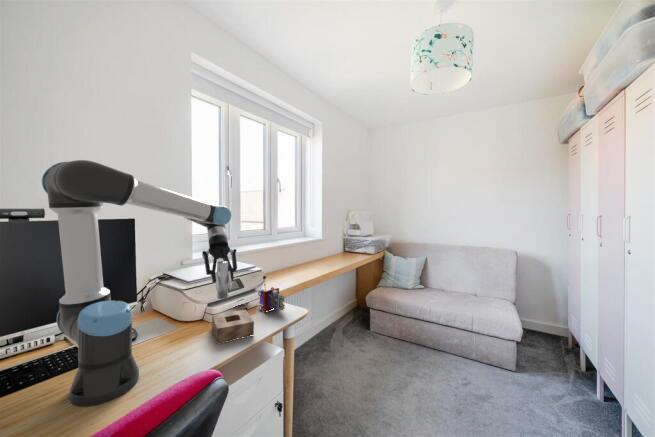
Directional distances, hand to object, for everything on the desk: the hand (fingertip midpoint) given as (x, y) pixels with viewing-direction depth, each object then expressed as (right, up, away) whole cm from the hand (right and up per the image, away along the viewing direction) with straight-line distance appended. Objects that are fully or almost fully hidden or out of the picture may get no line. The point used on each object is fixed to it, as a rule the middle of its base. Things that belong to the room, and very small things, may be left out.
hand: (224, 288), depth 99 cm
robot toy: (+11, -21, +34) cm, 41 cm away
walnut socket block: (-1, -21, +10) cm, 23 cm away
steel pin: (-2, -4, +4) cm, 6 cm away
